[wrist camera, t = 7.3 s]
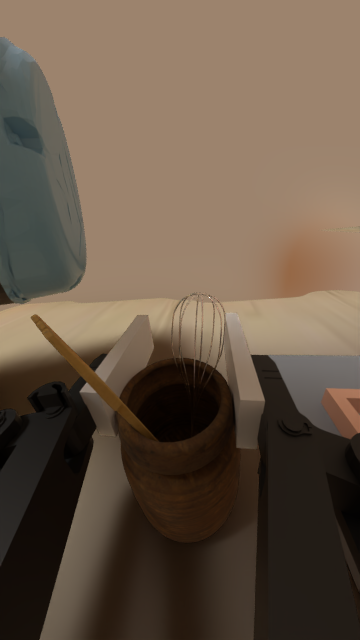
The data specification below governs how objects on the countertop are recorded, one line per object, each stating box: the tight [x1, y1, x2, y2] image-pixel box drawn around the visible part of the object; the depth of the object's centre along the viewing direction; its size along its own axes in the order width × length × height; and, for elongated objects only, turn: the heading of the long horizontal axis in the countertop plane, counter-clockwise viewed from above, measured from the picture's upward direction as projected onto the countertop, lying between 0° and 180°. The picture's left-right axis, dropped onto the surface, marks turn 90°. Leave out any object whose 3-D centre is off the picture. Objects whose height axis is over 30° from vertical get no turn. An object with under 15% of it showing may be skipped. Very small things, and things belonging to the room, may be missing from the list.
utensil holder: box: [31, 293, 240, 543], centre depth 9 cm, size 6×6×12 cm
